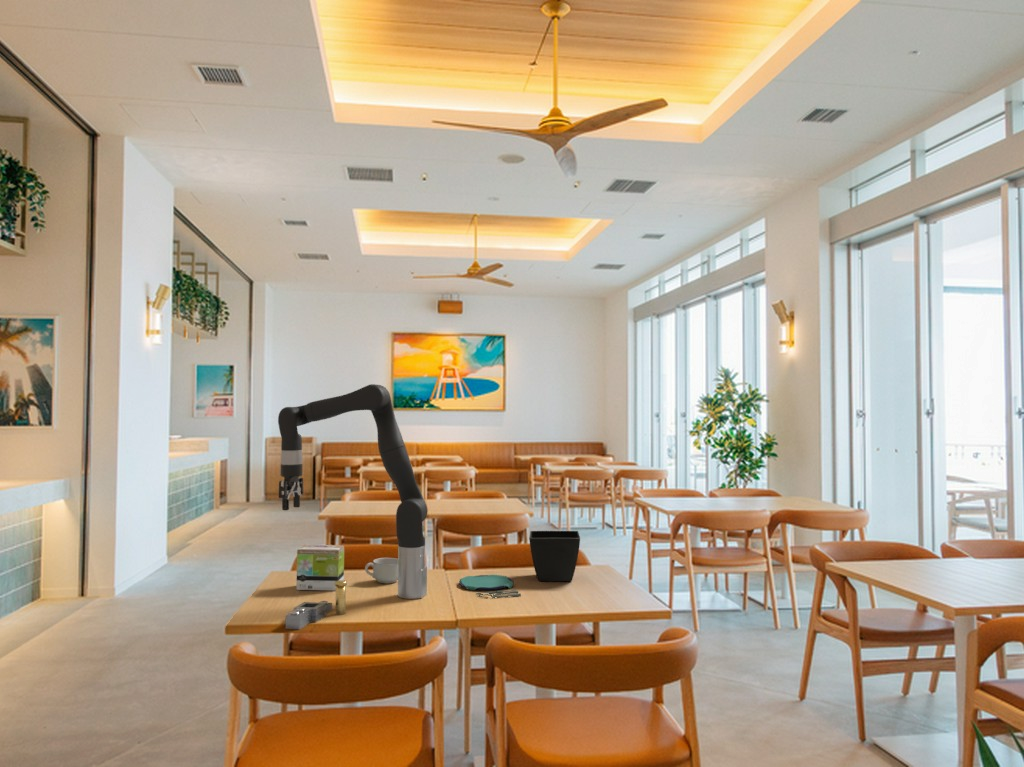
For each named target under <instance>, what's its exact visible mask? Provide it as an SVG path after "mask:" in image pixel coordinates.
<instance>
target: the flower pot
mask: <svg viewBox="0 0 1024 767" xmlns="http://www.w3.org/2000/svg"><path fill="white" fill-rule="evenodd" d="M528 540H529V547H530V553H531V559H532V563H533V568H534V572H535V576H536V579H537V581H538V580H539V582H571V581H573V578H574V574H575V570H576V567H577V562H578V557H579V551H580V544H581V536H580V533H579V531H578V530H530V532H529V539H528Z"/></svg>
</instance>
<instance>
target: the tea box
mask: <svg viewBox="0 0 1024 767" xmlns="http://www.w3.org/2000/svg"><path fill="white" fill-rule="evenodd" d="M344 577H345V545H340V544H339V545H338V544H337V545H336V544H328V545H327V544H323V545H322V544H304V545H302V546H301V547H300V548H298V549H297V551H296V591H331V592H336V586H335V581H339V580H344V579H345V578H344Z"/></svg>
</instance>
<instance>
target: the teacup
mask: <svg viewBox="0 0 1024 767" xmlns="http://www.w3.org/2000/svg"><path fill="white" fill-rule="evenodd" d="M372 561H373V562H368V563H366V564H365V567H364V572H366V574H367V575H369V576H371V578H373V579H375V580H376V581H377V582H378V583H379V584H394V583H395V582H398V558H396V557H395V558H394V557H379V558H375V559H373V560H372ZM369 567H372V572H370V571H369Z"/></svg>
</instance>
